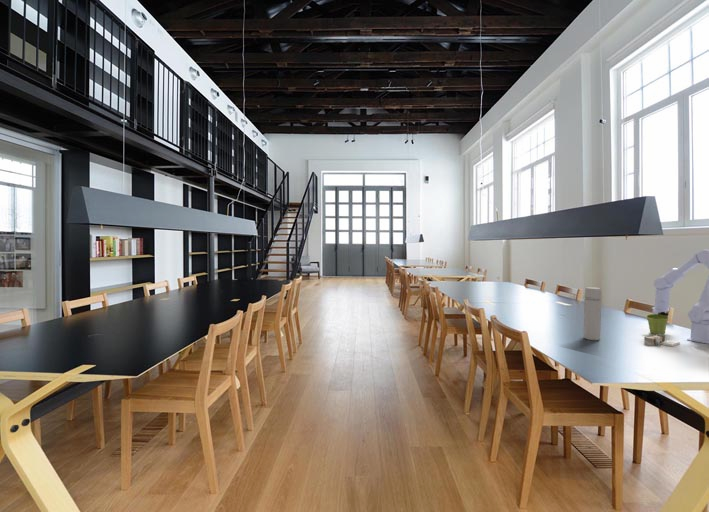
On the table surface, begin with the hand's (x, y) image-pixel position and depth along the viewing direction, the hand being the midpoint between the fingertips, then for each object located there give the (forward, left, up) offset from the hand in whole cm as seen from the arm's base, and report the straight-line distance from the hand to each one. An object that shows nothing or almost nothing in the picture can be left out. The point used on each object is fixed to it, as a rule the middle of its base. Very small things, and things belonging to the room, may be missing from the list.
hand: (660, 326), depth 204 cm
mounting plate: (-13, +23, -3) cm, 27 cm away
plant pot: (0, +4, -3) cm, 5 cm away
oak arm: (-8, +27, -3) cm, 29 cm away
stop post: (-10, +30, -3) cm, 32 cm away
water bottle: (+12, +44, -3) cm, 46 cm away
